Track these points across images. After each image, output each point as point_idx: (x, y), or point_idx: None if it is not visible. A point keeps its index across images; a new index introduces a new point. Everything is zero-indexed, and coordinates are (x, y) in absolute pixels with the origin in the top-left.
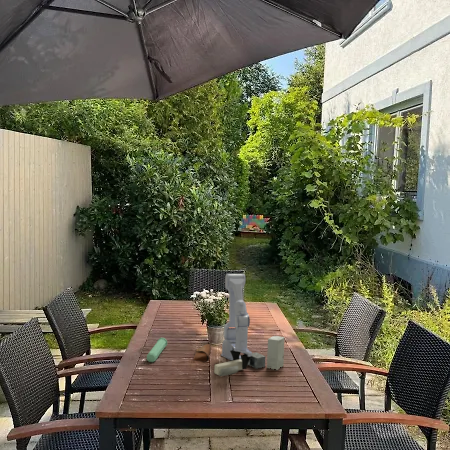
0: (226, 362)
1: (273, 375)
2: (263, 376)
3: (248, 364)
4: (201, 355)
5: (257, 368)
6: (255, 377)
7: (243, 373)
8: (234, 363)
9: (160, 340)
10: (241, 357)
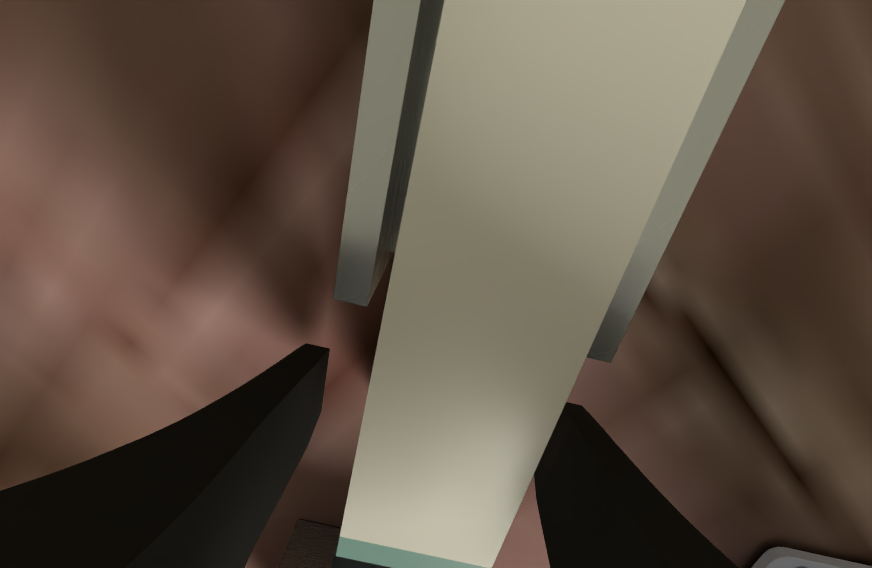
0: (676, 66)
1: (11, 485)
2: (28, 387)
3: None
4: None
5: (294, 533)
6: (38, 279)
7: (282, 280)
8: (398, 253)
9: None
10: (57, 562)
